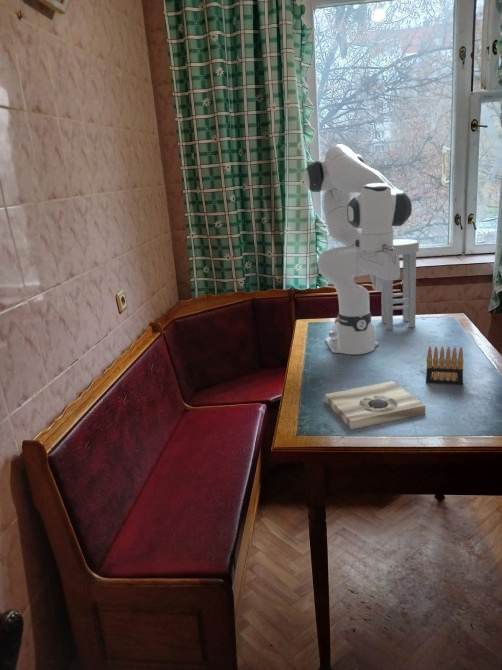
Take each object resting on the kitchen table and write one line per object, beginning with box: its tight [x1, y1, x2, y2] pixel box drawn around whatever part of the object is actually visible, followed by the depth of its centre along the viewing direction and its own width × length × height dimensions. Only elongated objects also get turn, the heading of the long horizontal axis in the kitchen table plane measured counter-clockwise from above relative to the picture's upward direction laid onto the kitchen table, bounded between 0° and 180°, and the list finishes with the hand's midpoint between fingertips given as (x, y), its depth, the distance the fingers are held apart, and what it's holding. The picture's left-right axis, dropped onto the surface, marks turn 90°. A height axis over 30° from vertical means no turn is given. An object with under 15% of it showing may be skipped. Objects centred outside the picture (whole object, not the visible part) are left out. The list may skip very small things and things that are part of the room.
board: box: [324, 380, 426, 430], centre depth 142 cm, size 18×22×2 cm
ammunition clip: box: [425, 346, 464, 386], centre depth 151 cm, size 11×2×12 cm, turn 71°
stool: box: [380, 238, 420, 330], centre depth 205 cm, size 16×16×35 cm
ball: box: [371, 399, 386, 408], centre depth 139 cm, size 4×4×4 cm
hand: (377, 289), depth 145 cm, fingers closed
